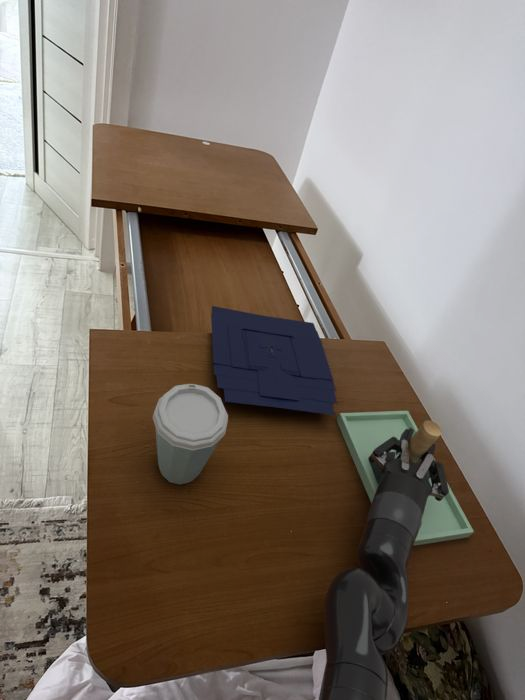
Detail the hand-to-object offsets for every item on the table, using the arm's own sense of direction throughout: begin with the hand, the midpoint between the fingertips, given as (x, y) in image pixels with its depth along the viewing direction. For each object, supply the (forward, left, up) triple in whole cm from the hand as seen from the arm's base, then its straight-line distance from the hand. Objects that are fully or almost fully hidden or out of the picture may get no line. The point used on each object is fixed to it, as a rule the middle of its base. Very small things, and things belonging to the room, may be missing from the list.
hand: (419, 437), depth 89 cm
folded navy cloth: (+30, +8, -8) cm, 33 cm away
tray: (-2, +3, -8) cm, 8 cm away
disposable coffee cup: (+18, +37, -8) cm, 42 cm away
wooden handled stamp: (-1, +3, -7) cm, 8 cm away
